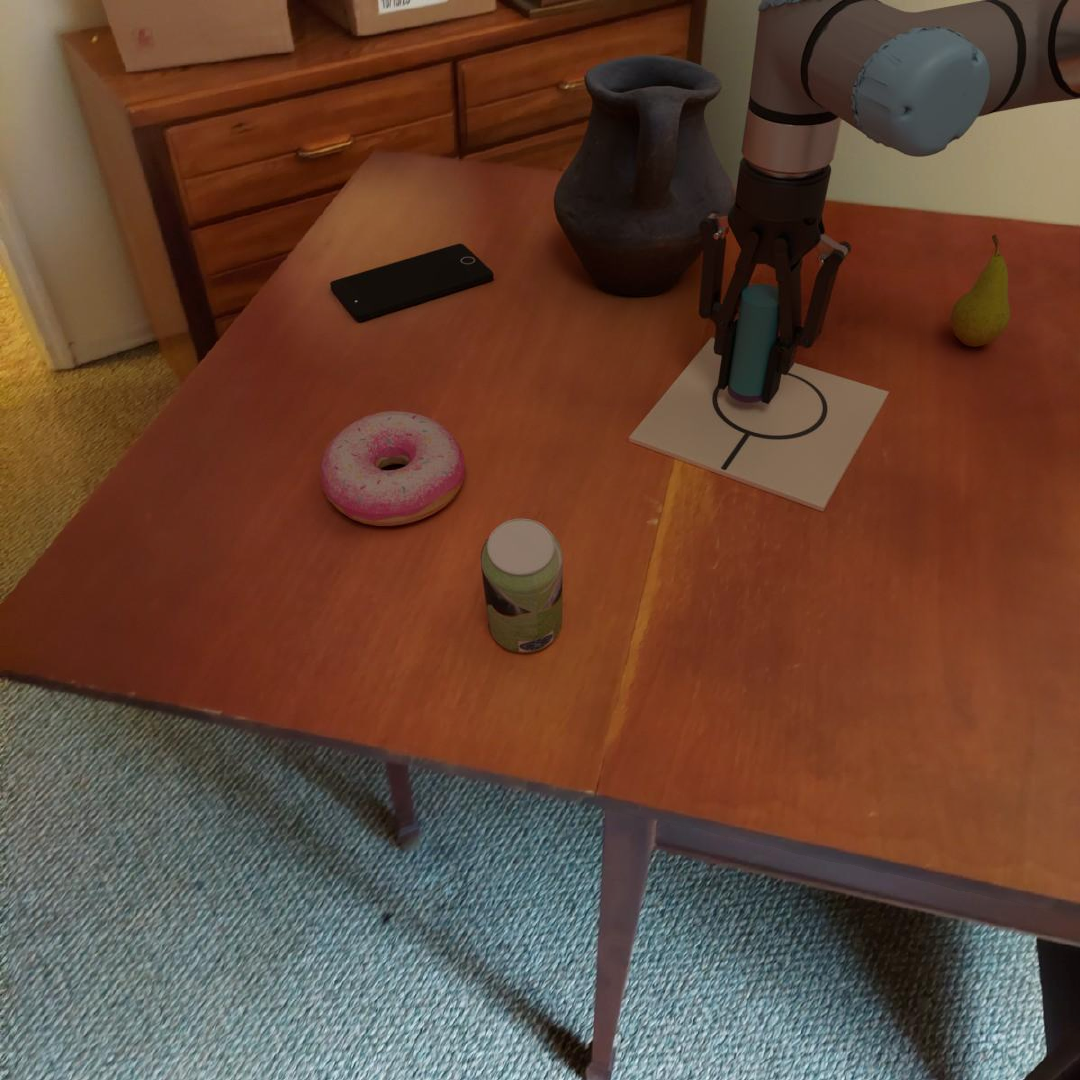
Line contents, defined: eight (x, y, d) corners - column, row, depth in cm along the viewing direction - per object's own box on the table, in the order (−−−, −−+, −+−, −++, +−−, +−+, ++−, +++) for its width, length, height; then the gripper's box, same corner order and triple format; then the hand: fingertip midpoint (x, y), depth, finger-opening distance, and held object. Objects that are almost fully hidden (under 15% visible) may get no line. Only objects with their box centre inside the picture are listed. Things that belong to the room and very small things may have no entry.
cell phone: (495, 280, 116) (495, 273, 115) (357, 323, 110) (356, 316, 109) (462, 248, 121) (461, 242, 121) (329, 288, 115) (328, 281, 114)
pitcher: (708, 231, 124) (734, 23, 106) (739, 325, 109) (775, 101, 91) (550, 236, 123) (549, 28, 106) (558, 331, 108) (559, 107, 90)
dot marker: (773, 386, 97) (792, 290, 89) (758, 407, 94) (776, 310, 86) (736, 375, 98) (751, 279, 90) (720, 395, 96) (734, 298, 88)
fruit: (987, 364, 103) (1027, 263, 94) (935, 346, 105) (968, 246, 97) (1005, 339, 106) (1045, 240, 97) (954, 322, 109) (988, 223, 100)
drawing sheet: (888, 396, 99) (889, 390, 99) (822, 512, 87) (824, 506, 87) (710, 341, 107) (711, 335, 106) (628, 441, 95) (628, 435, 94)
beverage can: (555, 596, 81) (554, 493, 72) (571, 665, 76) (573, 563, 67) (481, 606, 80) (472, 503, 71) (493, 677, 75) (484, 575, 66)
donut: (387, 560, 84) (380, 520, 80) (295, 491, 90) (284, 450, 87) (495, 483, 91) (493, 443, 87) (402, 424, 97) (396, 384, 94)
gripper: (902, 163, 78) (842, 394, 95) (710, 123, 85) (686, 346, 101) (873, 200, 74) (816, 436, 91) (673, 155, 80) (654, 383, 97)
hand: (747, 388), depth 96 cm, fingers closed on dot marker, 4 cm apart
